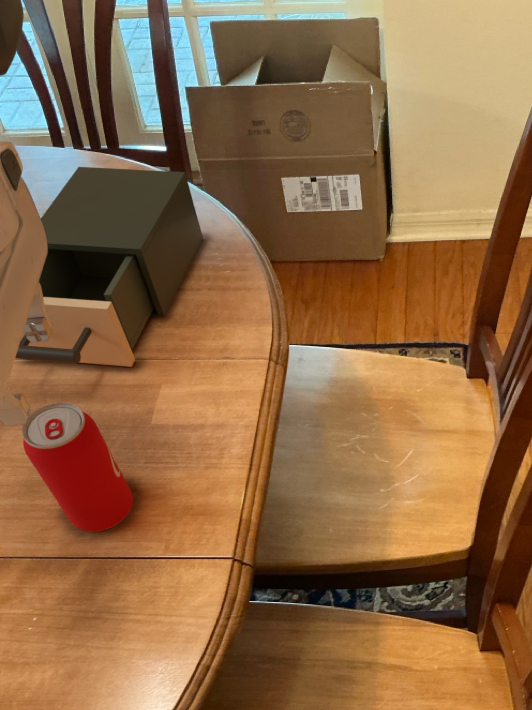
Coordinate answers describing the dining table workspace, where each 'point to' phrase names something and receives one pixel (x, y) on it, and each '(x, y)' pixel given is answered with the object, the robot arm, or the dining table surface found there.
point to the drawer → (91, 308)
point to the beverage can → (77, 466)
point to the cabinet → (130, 223)
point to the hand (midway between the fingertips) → (30, 375)
